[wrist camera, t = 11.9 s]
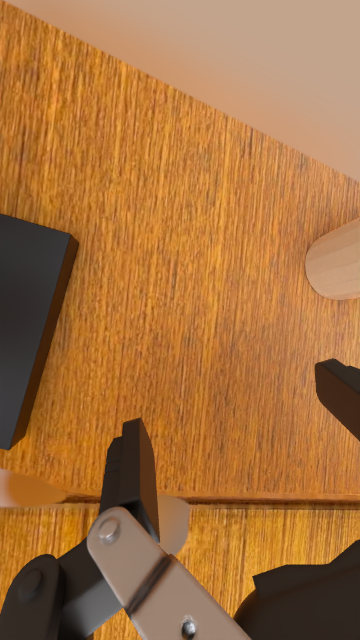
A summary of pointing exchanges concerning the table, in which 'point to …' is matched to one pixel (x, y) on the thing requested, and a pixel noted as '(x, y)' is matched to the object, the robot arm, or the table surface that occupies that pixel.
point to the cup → (336, 262)
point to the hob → (28, 314)
